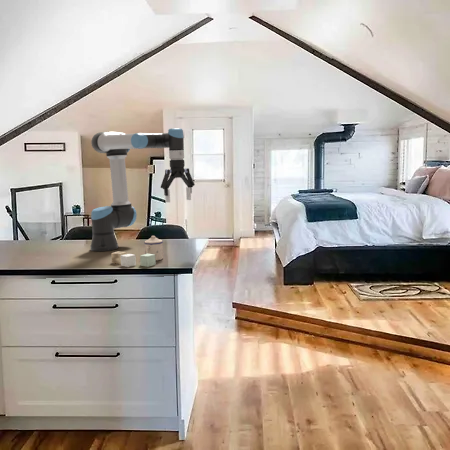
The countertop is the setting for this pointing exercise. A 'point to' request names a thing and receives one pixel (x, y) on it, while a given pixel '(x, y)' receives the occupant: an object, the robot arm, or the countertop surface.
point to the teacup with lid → (154, 247)
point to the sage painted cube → (147, 260)
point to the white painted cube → (128, 260)
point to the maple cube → (117, 257)
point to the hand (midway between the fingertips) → (178, 201)
